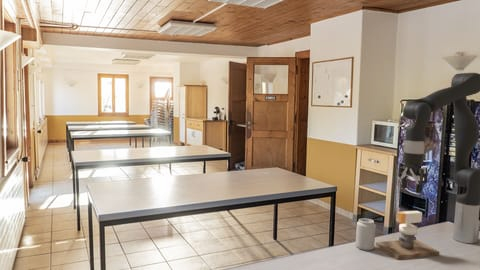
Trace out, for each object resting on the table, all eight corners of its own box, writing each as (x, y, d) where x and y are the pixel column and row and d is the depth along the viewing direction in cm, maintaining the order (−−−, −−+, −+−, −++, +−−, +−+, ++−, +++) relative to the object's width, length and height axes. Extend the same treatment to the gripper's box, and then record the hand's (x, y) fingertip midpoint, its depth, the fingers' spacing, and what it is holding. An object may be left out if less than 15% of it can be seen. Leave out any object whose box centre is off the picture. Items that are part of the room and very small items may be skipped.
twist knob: (412, 228, 162) (413, 209, 161) (424, 234, 155) (425, 214, 154) (392, 230, 159) (393, 210, 158) (403, 236, 152) (404, 215, 152)
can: (370, 244, 163) (371, 217, 162) (376, 251, 156) (378, 223, 155) (352, 244, 163) (354, 217, 162) (358, 251, 156) (360, 222, 154)
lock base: (414, 242, 167) (416, 225, 166) (439, 255, 154) (440, 237, 153) (375, 245, 162) (376, 228, 161) (397, 259, 148) (398, 240, 148)
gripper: (434, 154, 148) (431, 194, 149) (409, 149, 162) (406, 186, 163) (418, 154, 146) (415, 195, 148) (394, 149, 160) (392, 186, 161)
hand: (411, 190), depth 155 cm, fingers open, 8 cm apart
